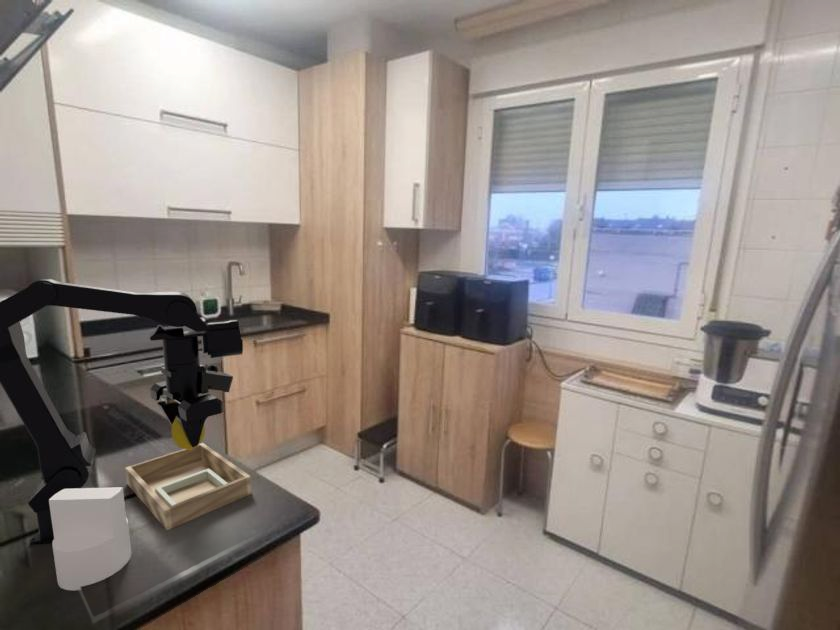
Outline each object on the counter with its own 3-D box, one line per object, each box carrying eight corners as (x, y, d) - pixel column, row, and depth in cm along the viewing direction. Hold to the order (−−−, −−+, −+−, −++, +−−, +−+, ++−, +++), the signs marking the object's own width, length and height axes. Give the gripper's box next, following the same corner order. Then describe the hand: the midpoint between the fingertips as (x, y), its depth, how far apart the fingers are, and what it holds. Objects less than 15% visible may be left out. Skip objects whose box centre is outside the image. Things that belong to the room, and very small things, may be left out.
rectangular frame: (231, 492, 85) (231, 485, 85) (175, 516, 78) (174, 508, 77) (209, 475, 92) (208, 468, 92) (155, 495, 84) (154, 487, 84)
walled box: (251, 495, 85) (250, 476, 84) (167, 532, 74) (165, 511, 73) (204, 459, 100) (202, 442, 99) (127, 486, 89) (125, 467, 88)
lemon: (192, 458, 80) (189, 416, 79) (166, 455, 81) (162, 414, 80) (212, 445, 86) (209, 406, 84) (187, 442, 87) (184, 404, 85)
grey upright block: (144, 546, 71) (136, 476, 69) (107, 589, 62) (97, 510, 60) (86, 548, 70) (77, 478, 68) (40, 591, 61) (29, 512, 60)
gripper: (248, 361, 80) (253, 442, 83) (205, 346, 93) (210, 417, 95) (184, 374, 72) (191, 463, 75) (146, 355, 85) (153, 432, 87)
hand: (188, 441), depth 83 cm, fingers closed on lemon, 5 cm apart
